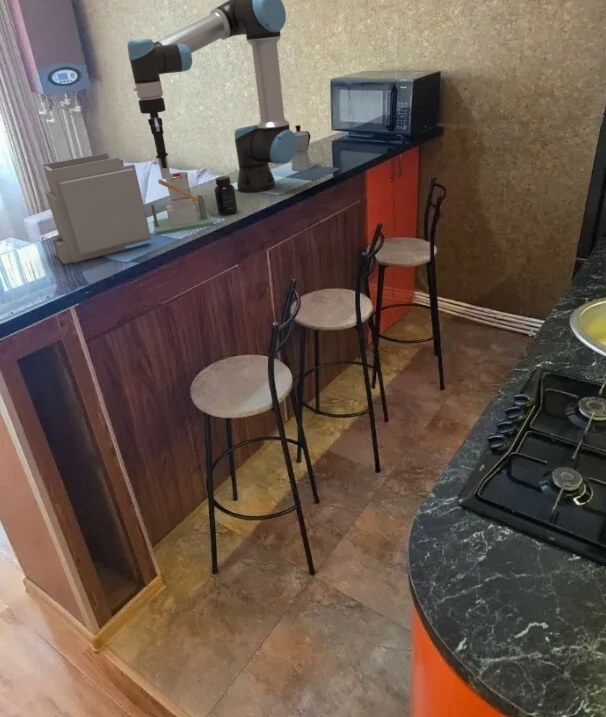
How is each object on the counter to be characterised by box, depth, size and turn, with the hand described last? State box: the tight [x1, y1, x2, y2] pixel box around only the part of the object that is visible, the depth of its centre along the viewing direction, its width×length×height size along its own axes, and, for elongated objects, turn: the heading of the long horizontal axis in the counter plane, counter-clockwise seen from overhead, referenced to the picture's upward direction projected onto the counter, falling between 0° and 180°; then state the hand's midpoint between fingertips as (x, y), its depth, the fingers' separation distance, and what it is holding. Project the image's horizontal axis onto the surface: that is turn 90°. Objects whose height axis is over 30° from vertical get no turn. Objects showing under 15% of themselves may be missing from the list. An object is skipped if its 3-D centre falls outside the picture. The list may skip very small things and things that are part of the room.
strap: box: [157, 178, 201, 203], centre depth 187 cm, size 15×4×2 cm
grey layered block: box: [42, 152, 152, 265], centre depth 170 cm, size 17×27×26 cm, turn 122°
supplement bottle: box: [214, 175, 238, 216], centre depth 197 cm, size 7×7×12 cm
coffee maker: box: [291, 124, 312, 172], centre depth 248 cm, size 15×9×18 cm, turn 148°
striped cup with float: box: [165, 171, 192, 203], centre depth 208 cm, size 10×8×12 cm
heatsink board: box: [149, 194, 215, 236], centre depth 190 cm, size 19×14×8 cm
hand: (166, 178), depth 184 cm, fingers closed
